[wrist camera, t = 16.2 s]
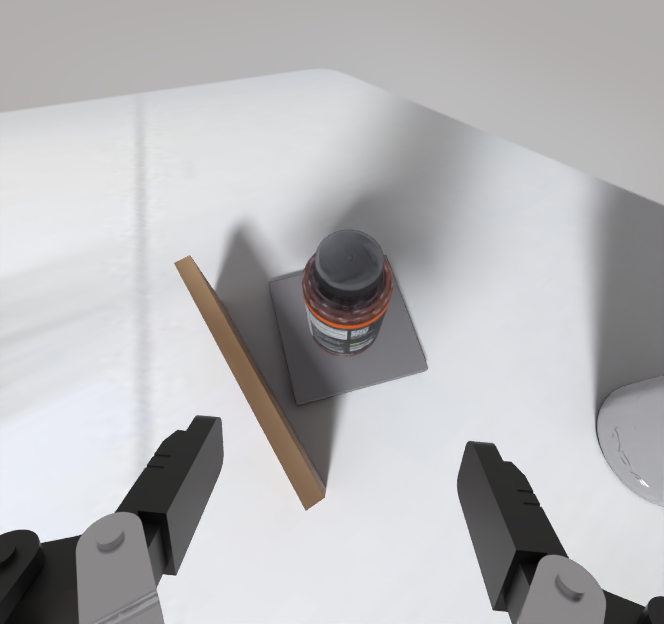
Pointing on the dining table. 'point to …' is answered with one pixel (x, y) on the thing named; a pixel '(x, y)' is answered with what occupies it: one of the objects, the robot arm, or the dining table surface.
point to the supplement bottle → (346, 292)
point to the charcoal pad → (342, 372)
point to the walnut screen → (254, 387)
